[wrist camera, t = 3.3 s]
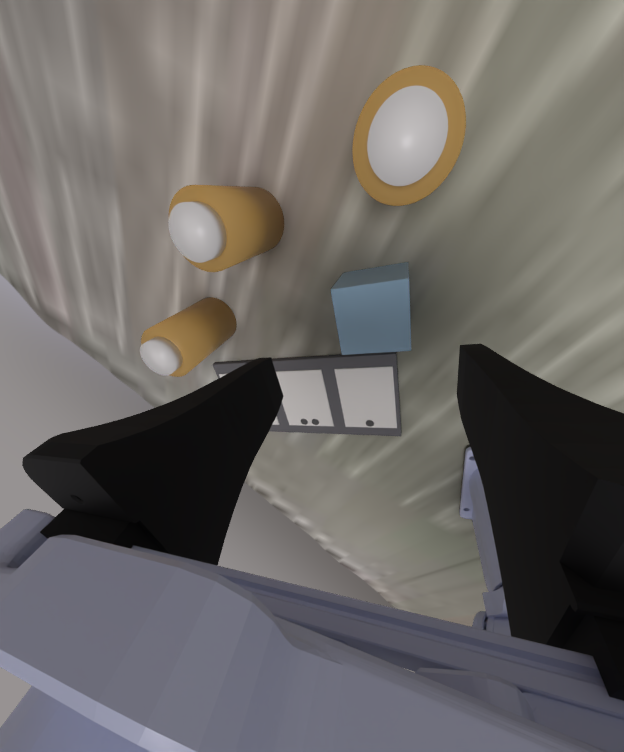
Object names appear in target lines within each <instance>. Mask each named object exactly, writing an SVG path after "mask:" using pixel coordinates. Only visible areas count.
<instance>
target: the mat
mask: <svg viewBox="0 0 624 752" xmlns="http://www.w3.org/2000/svg"><path fill="white" fill-rule="evenodd" d="M251 361H253V360H248V361H231V362H215V363H214V364H213V367H214V369H215V371H216V374H217V376H218V378H221V377H223V376H224V375H226V374H228V373H230V372H232V371H233V370H235V369H237V368H239V367H241V366H243V365H244V364H246V363H248V362H251ZM272 362H273V365H274V368H275V371H276V374H277V377H278V380H279V384H280V387H281V390H282V393H283V396H284V397H283V400H282V403H281V406H280V409H279V411H278V414H277V416H276V418H275V420H274V422H273V424H272V426H271V428H270V430H269V431H278V432H304V433H330V434H356V435H382V436H401V420H400V404H399V388H398V371H397V355H396V352H382V353H365V354H349V355H329V356H313V357H297V358H280V359H272Z"/></svg>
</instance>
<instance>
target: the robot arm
mask: <svg viewBox="0 0 624 752" xmlns="http://www.w3.org/2000/svg"><path fill="white" fill-rule="evenodd" d="M283 397H284V396H283V393H282V390H281V387H280V384H279V380H278V377H277V374H276V371H275V368H274V365H273V362H272V359H271V358H258V359H255V360H253V361H251V362H248V363H246V364H244V365H243V366H241V367H239V368H237V369H235V370H233V371H232V372H230V373H228V374H226V375H224V376H223V377H221V378H219V379H217V380H215V381H213V382H211V383H210V384H208V385H206V386H204V387H202V388H200V389H198V390H196V391H194V392H192V393H190V394H188V395H186V396H183V397H181V398H179V399H177V400H174V401H172V402H169V403H167V404H164V405H162V406H159V407H156V408H153V409H151V410H148V411H145V412H142V413H140V414H137V415H133V416H131V417H127V418H124V419H121V420H117V421H113V422H110V423H106V424H102V425H98V426H94V427H89V428H85V429H81V430H76V431H72V432H68V433H62V434H60V435H57V436H55V437H52V438H50V439H48V440H47V441H46V442H44V443H43V444H42V445H40V446H39V447H37V448H36V449H35V450H33V451H32V452H30V453H29V454H27V455H26V456H25V457H24V458H23V468H24V470H25V472H26V473H27V474H28V476H29V477H30V478H31V479H32V480H33V481H34V482H35V483H36V484H37V485H38V486H39V487H40V488H41V489H42V490H43V491H45V492H46V493H47V494H48V495H49V496H50V497H51V498H52V499H53V500H54V501H55V502H57V503H58V504H59V505H60V506H61V507H62V508H64V510H63V511H62V512H61V513H60V514H58V515H57V516H56V517H54V516H52V515H50V514H48V513H45V512H40V511H36V510H31V509H25V510H23V511H21V512H20V513H19V514H18V515H17V516H16V517H14V518H13V519H12V520H11V521H10V522H8V523H7V524H6V525H5V526H4V527H2V528H1V529H0V667H1V668H3V669H5V670H6V671H8V672H10V673H11V674H13V675H15V676H17V677H18V678H20V679H22V680H24V681H25V682H27V683H29V684H30V685H32V686H31V688H30V689H29V691H28V692H27V693H26V695H25V696H24V697H23V698H22V700H21V701H20V703H19V704H18V705H17V706H16V708H15V709H14V711H13V712H12V713H11V714H10V716H9V717H8V718H7V720H6V721H5V722H4V724H3V725H2V726H1V728H0V752H624V413H621V412H618V411H615V410H612V409H609V408H607V407H604V406H601V405H599V404H596V403H594V402H591V401H589V400H586V399H584V398H582V397H579V396H577V395H575V394H572V393H570V392H567V391H565V390H563V389H561V388H559V387H557V386H554V385H552V384H550V383H549V382H547V381H545V380H543V379H541V378H539V377H537V376H535V375H533V374H531V373H529V372H528V371H526V370H524V369H522V368H520V367H519V366H517V365H515V364H514V363H512V362H510V361H509V360H507V359H505V358H504V357H502V356H501V355H499V354H497V353H496V352H494V351H493V350H491V349H489V348H488V347H486V346H484V345H482V344H470V345H460V354H459V369H458V384H457V398H458V404H459V410H460V415H461V420H462V423H463V426H464V429H465V432H466V435H467V438H468V441H469V444H470V447H468V448H467V449H466V451H465V461H464V471H463V481H462V491H461V501H460V511H459V512H460V516H461V517H462V518H465V519H472V521H473V526H474V531H475V536H476V540H477V545H478V550H479V555H480V559H481V564H482V569H483V574H484V579H485V582H486V586H487V588H488V591H489V592H483V593H482V594H483V599H484V604H485V609H486V611H480V612H478V613H477V614H476V616H475V618H474V621H473V625H472V627H470V626H466V625H462V624H457V623H453V622H449V621H445V620H441V619H437V618H433V617H428V616H424V615H420V614H416V613H412V612H408V611H404V610H399V609H395V608H391V607H387V606H383V605H379V604H375V603H370V602H366V601H362V600H358V599H354V598H350V597H345V596H341V595H337V594H333V593H329V592H325V591H320V590H316V589H312V588H308V587H304V586H299V585H296V584H292V583H287V582H283V581H279V580H275V579H271V578H267V577H262V576H258V575H254V574H250V573H245V572H241V571H237V570H233V569H229V568H225V567H221V566H217V565H218V561H219V558H220V554H221V550H222V547H223V543H224V539H225V536H226V533H227V530H228V527H229V524H230V520H231V517H232V514H233V511H234V508H235V506H236V503H237V500H238V497H239V494H240V492H241V488H242V486H243V483H244V481H245V479H246V476H247V474H248V471H249V469H250V466H251V464H252V462H253V460H254V458H255V456H256V454H257V452H258V450H259V449H260V447H261V445H262V443H263V441H264V439H265V437H266V436H267V434H268V432H269V430H270V428H271V426H272V424H273V422H274V420H275V418H276V416H277V414H278V411H279V409H280V406H281V403H282V400H283ZM471 456H474V457H471ZM404 668H405V669H404ZM406 669H409V670H412V671H415V673H414V672H411V671H409V670H406Z"/></svg>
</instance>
